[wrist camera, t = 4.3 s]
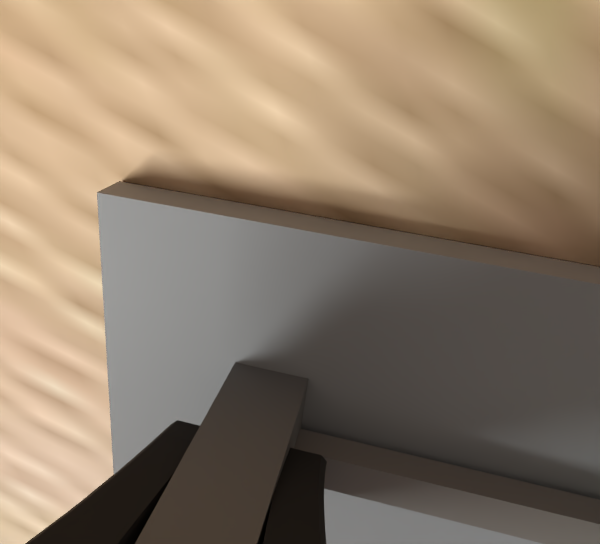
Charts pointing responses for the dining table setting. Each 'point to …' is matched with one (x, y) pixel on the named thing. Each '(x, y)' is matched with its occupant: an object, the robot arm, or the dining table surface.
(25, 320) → the dining table surface
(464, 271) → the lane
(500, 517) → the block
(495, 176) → the dining table surface
